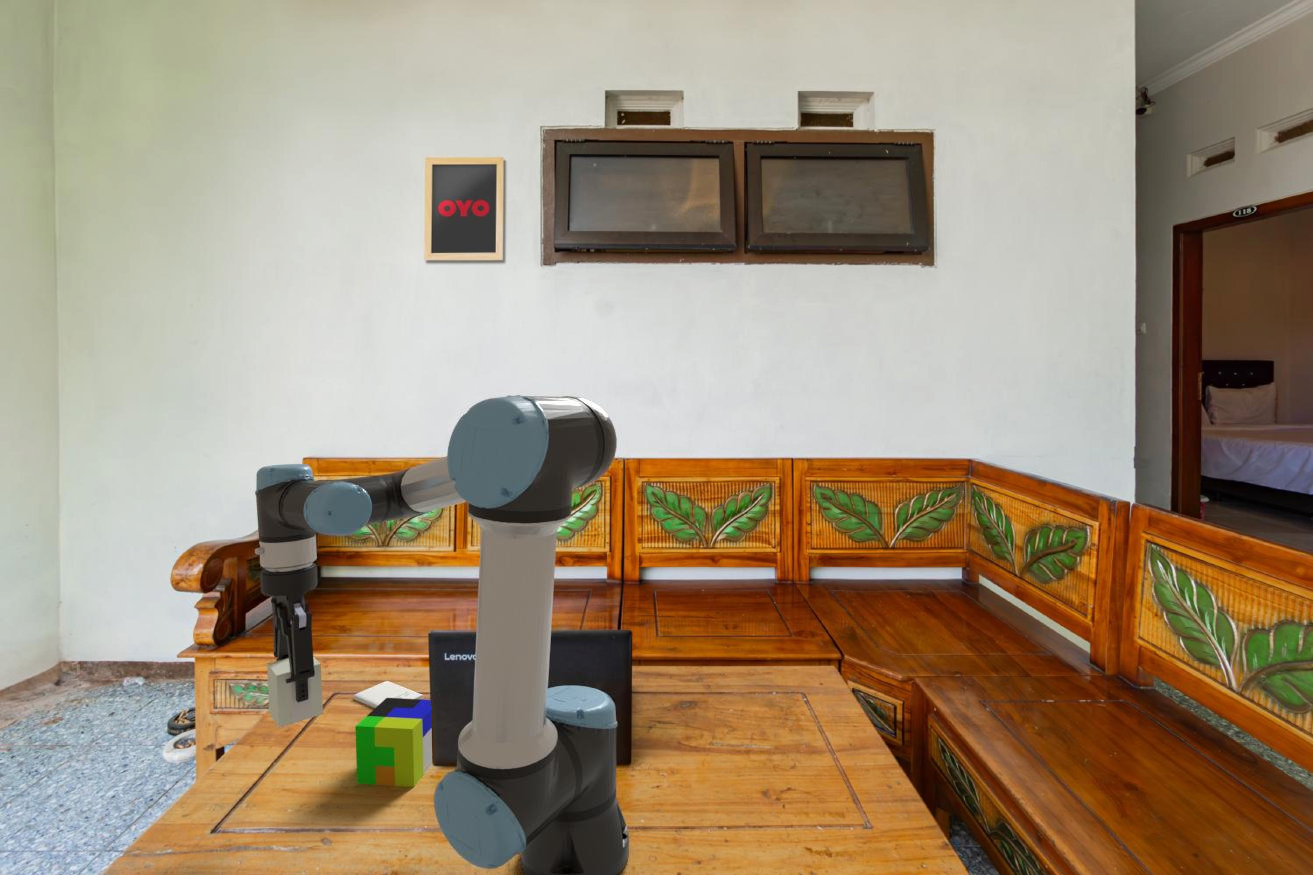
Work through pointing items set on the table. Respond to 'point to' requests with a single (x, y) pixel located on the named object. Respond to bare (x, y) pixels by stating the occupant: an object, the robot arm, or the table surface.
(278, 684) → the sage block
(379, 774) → the puzzle toy
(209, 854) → the table surface
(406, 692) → the external hard drive
